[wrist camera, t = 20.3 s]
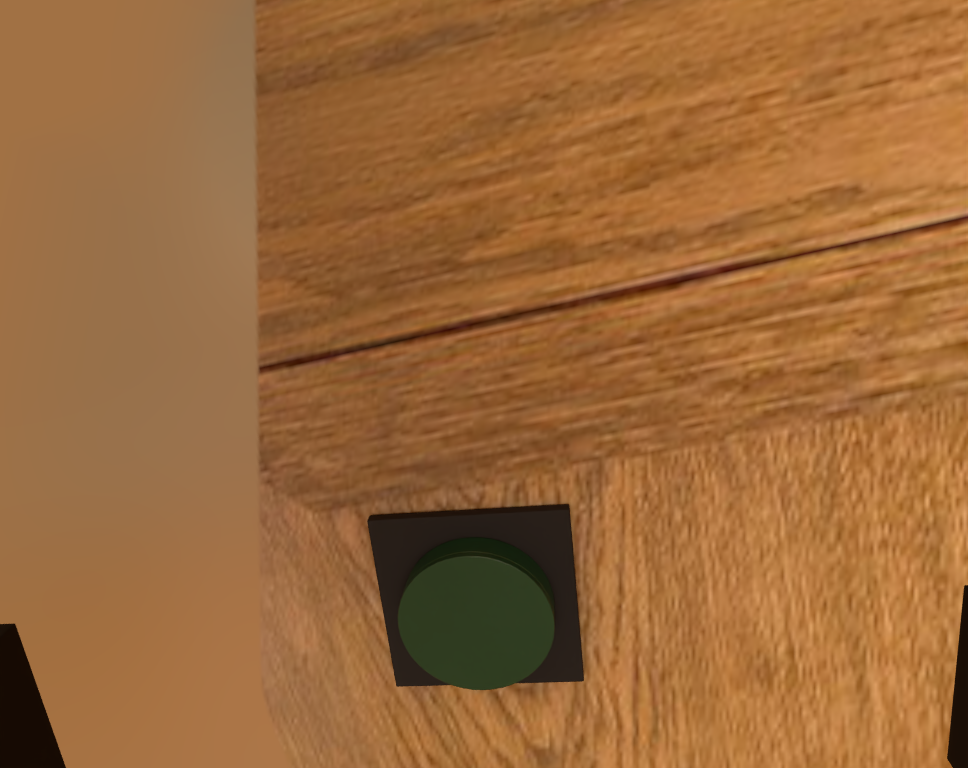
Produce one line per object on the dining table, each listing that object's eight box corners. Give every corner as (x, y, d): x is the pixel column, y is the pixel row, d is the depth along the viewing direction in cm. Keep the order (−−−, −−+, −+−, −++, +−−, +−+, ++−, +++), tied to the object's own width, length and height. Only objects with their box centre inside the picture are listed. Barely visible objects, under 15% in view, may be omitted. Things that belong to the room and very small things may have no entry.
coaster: (369, 515, 38) (366, 520, 37) (569, 503, 37) (569, 509, 36) (398, 679, 41) (396, 687, 40) (583, 673, 40) (584, 681, 39)
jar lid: (559, 666, 39) (559, 690, 37) (414, 668, 40) (408, 692, 38) (549, 533, 37) (549, 553, 35) (395, 539, 38) (387, 558, 36)
